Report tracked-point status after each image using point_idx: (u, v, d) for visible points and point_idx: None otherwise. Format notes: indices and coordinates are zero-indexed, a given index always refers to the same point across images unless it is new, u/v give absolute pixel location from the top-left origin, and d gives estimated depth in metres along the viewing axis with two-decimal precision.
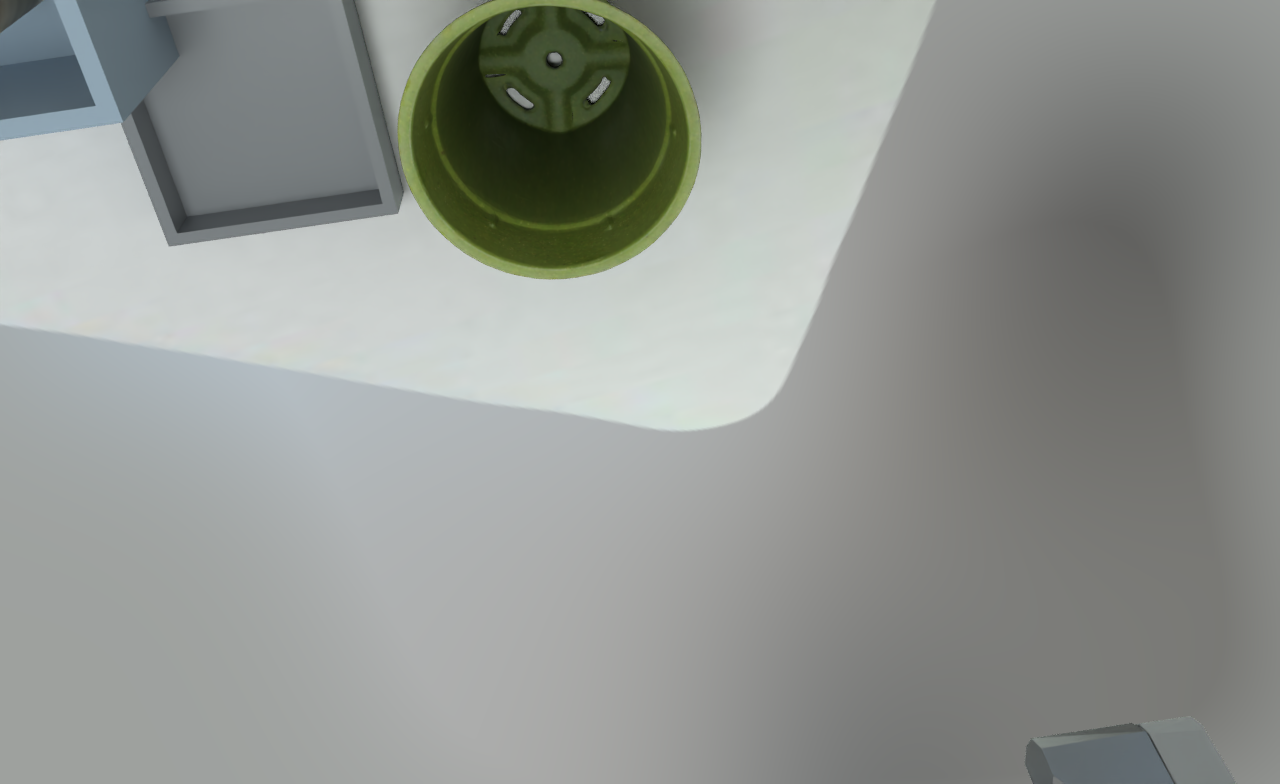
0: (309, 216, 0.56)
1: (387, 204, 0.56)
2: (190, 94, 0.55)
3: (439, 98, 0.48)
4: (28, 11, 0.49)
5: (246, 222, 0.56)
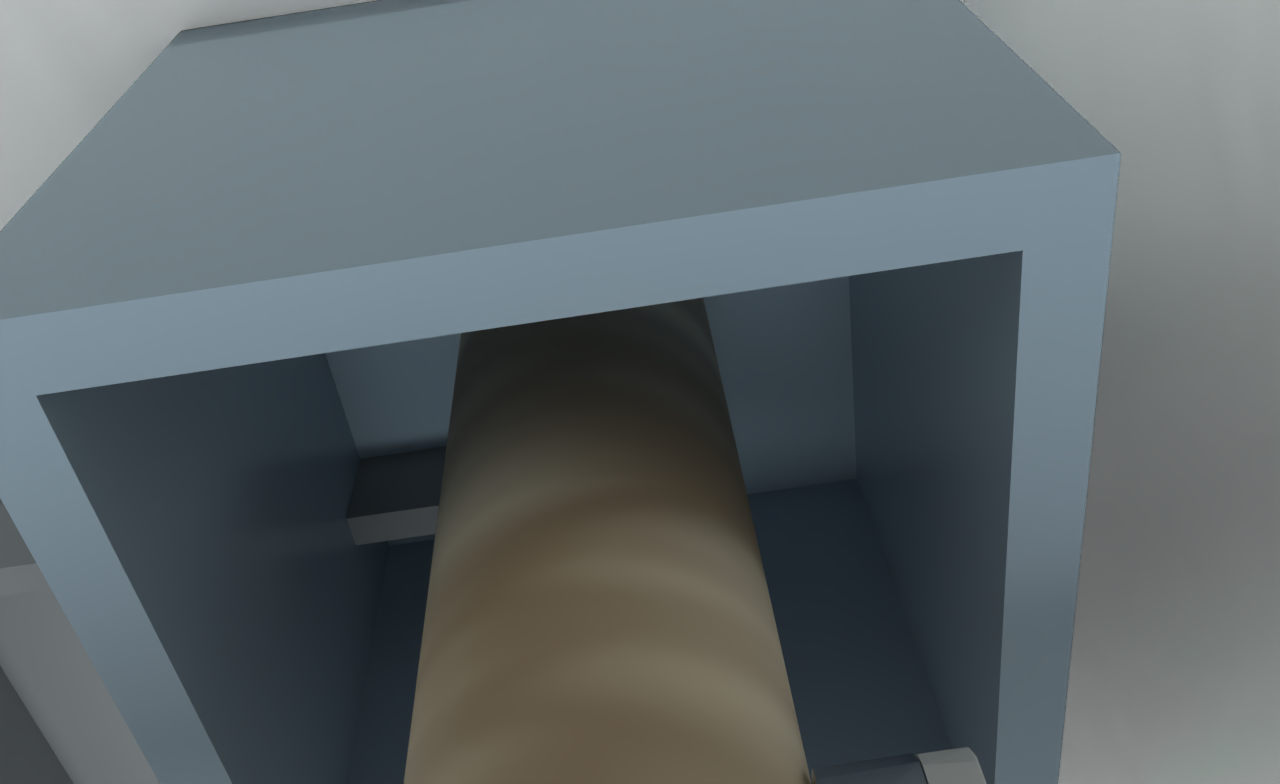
0: None
1: None
2: None
3: None
4: None
5: None
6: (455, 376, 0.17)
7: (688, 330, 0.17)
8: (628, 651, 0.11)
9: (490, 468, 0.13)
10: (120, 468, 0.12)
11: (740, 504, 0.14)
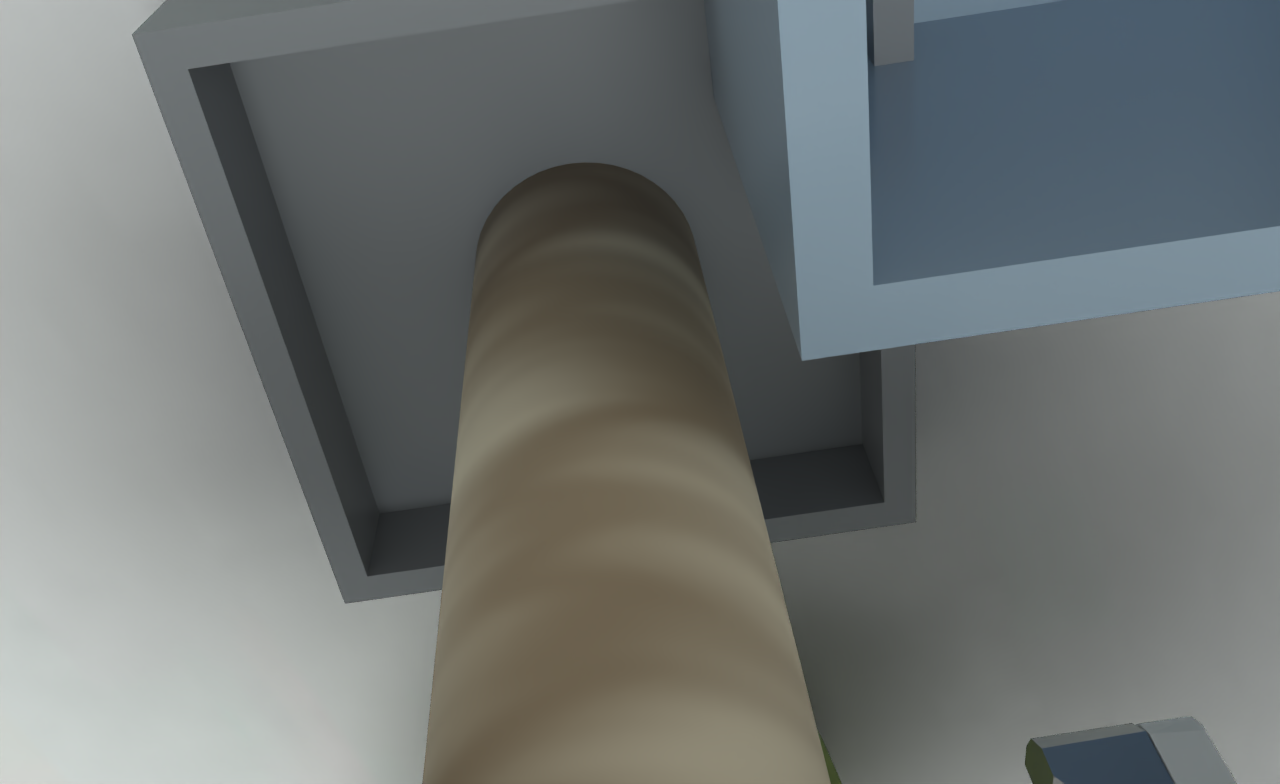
0: (306, 424, 0.21)
1: (366, 585, 0.23)
2: (608, 107, 0.20)
3: None
4: None
5: (260, 270, 0.19)
6: (469, 322, 0.19)
7: (685, 277, 0.18)
8: (636, 532, 0.12)
9: (508, 391, 0.15)
10: None
11: (733, 424, 0.15)
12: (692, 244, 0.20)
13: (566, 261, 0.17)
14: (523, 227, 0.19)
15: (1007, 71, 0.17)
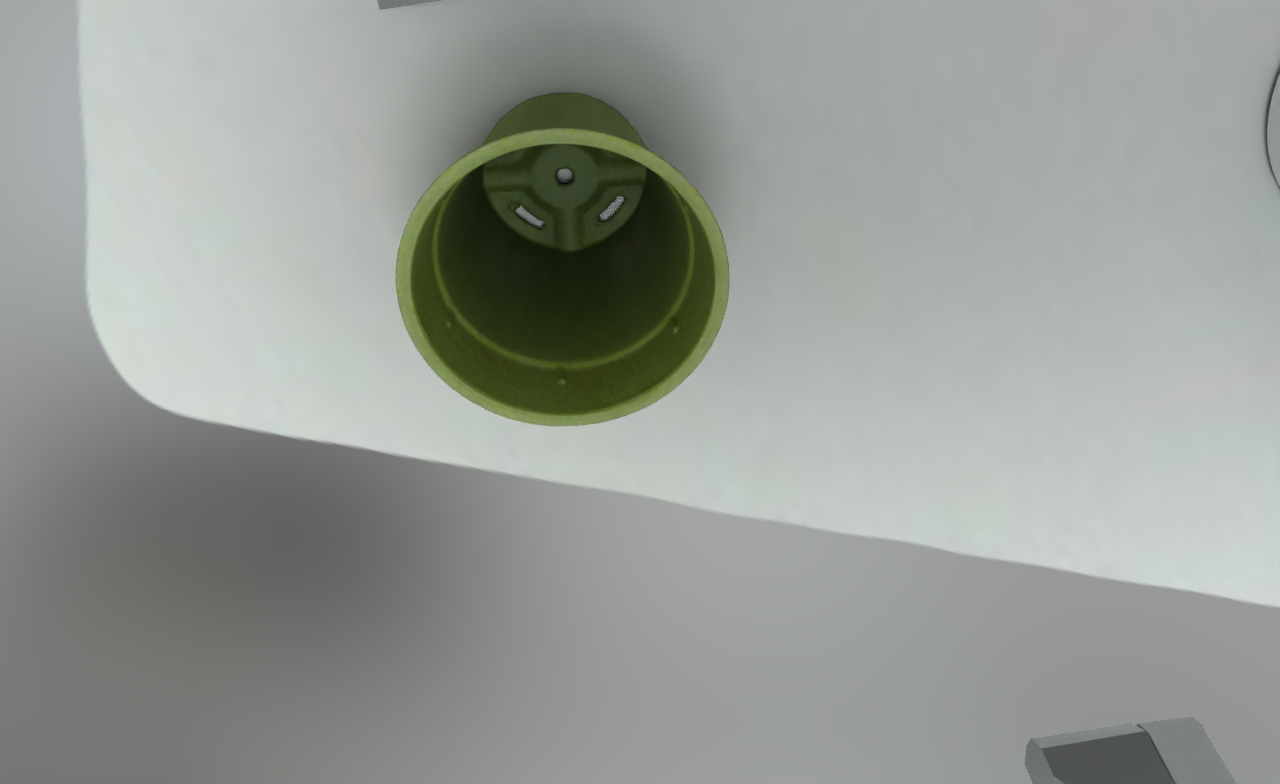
0: None
1: None
2: None
3: None
4: None
5: None
6: None
7: None
8: None
9: None
10: None
11: None
12: None
13: None
14: None
15: None
